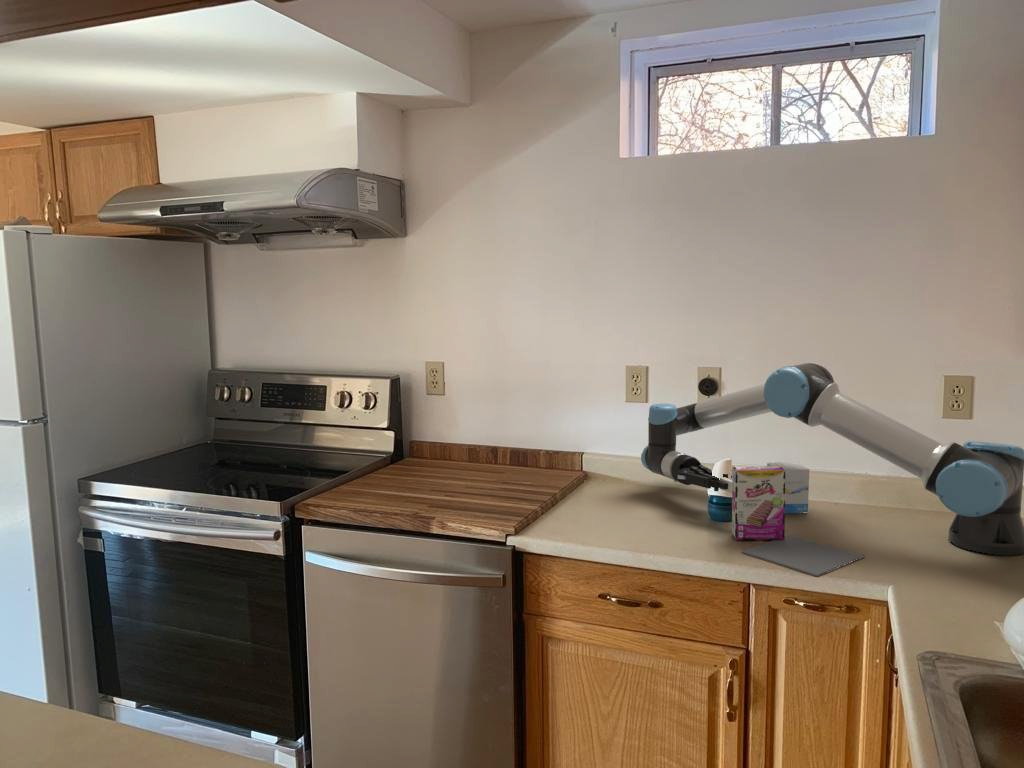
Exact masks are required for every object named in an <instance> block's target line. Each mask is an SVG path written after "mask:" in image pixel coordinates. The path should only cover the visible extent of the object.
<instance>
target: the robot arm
mask: <svg viewBox="0 0 1024 768" xmlns="http://www.w3.org/2000/svg"><path fill="white" fill-rule="evenodd" d="M648 409H649V411H648V419H647V421H648V426H647V427H648V428H647V429H648V430H647V431H648V432H647V433H648V436H647V437H648V444H647V445H646V446H645V447H644V449H643V451H642V453H641V455H640V461H641V463H642V465H643V467H644V468H645V469H646V470H649V471H650V472H652V473H653V474H657V475H660V476H663V477H665V478H668V479H670V480H673V482H674V483H677V482H678V483H680V484H683V485H686V486H691V485H693V486H697V487H701V488H705V489H711V488H712V489H713V491H714V492H719V489H720V490H722V491H725V492H728V493H730V494H732V480H731V479H728V474H729V473H728V474H723V478H720V480H719V478H717V477H715V476H712V470H713V469H711V468H709V467H706V466H705V465H703V464H701V462H700V460H699V459H697V458H696V457H694V456H691V455H688V454H686V453H683V452H680V451H677V450H676V449H677V436H680V435H684V434H689V433H693V432H698V431H701V430H704V429H707V428H712V427H716V426H719V425H724V424H728V423H732V422H736V421H739V420H743V419H747V418H753V417H755V416H759V415H763V414H767V413H768V414H769V413H771V412H772V413H773V414H775V415H776V416H778V417H781V418H786V419H789V418H794V419H795V420H798V421H799V422H801V423H803V424H805V425H807V426H808V427H811V428H815V427H817V426H823V427H824V428H826V429H828V430H830V431H831V432H833V433H835V434H837V435H839V436H842V437H843V438H844V439H847V440H848V441H850V442H852V443H854V444H856V445H858V446H860V447H861V448H864V449H865V450H868V451H869V452H871V453H872V454H874V455H876V456H878V457H880V458H881V459H884V460H885V461H887V462H889V463H892V464H893V465H895V466H897V467H899V468H900V469H902V470H904V471H906V472H908V473H910V474H912V475H913V476H915V477H918V478H920V480H921V483H922V485H923V488H924V489H925V490H926V491H928V492H929V493H932V494H933V495H936V496H937V497H938V499H939V500H940V502H941V503H942V505H944V507H945V508H946V509H948V510H949V511H951V512H953V513H955V515H954V517H953V520H952V522H951V524H950V526H949V528H948V533H947V534H948V535H947V537H948V538H947V540H948V539H949V540H948V542H949V541H950V542H949V543H951V542H952V543H953V544H952V543H951V544H952V545H954V544H955V545H954V546H956V545H957V546H956V547H958V546H959V547H958V548H960V547H961V548H960V549H963V548H964V550H966V549H969V550H968V551H970V550H973V551H972V552H974V551H977V552H976V553H979V552H982V553H981V554H984V553H988V554H987V555H991V554H994V555H993V556H1020V555H1023V554H1024V523H1023V518H1022V513H1021V512H1022V498H1023V487H1024V485H1023V484H1024V449H1023V448H1022V447H1021V446H1017V445H1014V444H1013V445H1012V444H1004V443H998V442H986V441H978V440H977V441H975V440H973V441H972V440H968V441H965V442H964V443H963V445H961V444H959V443H957V442H955V441H952V442H947V443H941V442H939V441H937V440H936V439H935V440H934V439H933V438H931V437H929V436H927V435H926V434H923V433H921V432H919V431H917V430H915V429H914V428H911V427H909V426H907V425H905V424H904V423H901V422H899V421H898V420H895V419H893V418H892V417H889V416H887V415H885V414H883V413H881V412H879V411H878V410H875V409H873V408H872V407H869V406H867V405H865V404H863V403H861V402H859V401H857V400H855V399H853V398H851V397H849V396H847V395H845V394H843V393H841V392H840V387H839V385H838V383H836V382H835V380H834V377H833V375H832V373H831V372H830V370H828V369H827V368H825V367H824V366H822V365H820V364H818V363H817V364H816V363H812V362H811V363H809V362H807V363H802V364H796V365H791V366H790V365H788V366H787V365H786V366H782V367H781V368H779V369H776V370H775V371H773V372H771V374H770V375H769V376H768V377H767V379H766V380H765V383H763V384H759V385H756V386H752V387H749V388H745V389H741V390H738V391H735V392H732V393H727V394H723V395H720V396H717V397H713V398H710V399H706V400H703V401H699V402H696V403H691V404H688V405H685V406H680V407H677V406H676V405H675V404H672V403H653V404H651V405H650V406H649V408H648ZM731 478H732V475H731Z"/></svg>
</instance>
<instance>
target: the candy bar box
mask: <svg viewBox="0 0 1024 768" xmlns="http://www.w3.org/2000/svg"><path fill="white" fill-rule="evenodd" d="M731 467H732V471H731V473H732V474H731V476H732V493H731V498H732V499H731V534H732V536H733V537H734V540H736V541H738V540H739V541H740V540H741V541H743V540H744V541H747V540H748V541H750V540H751V541H754V540H757V541H759V540H760V541H762V540H763V541H764V540H768V541H769V540H770V541H773V540H784V539H785V536H786V534H785V533H786V532H785V531H786V530H785V528H786V527H785V526H786V524H785V523H786V520H785V519H786V515H785V514H786V513H785V470H784V469H783V468H782V467H781V466H767V465H732V466H731Z"/></svg>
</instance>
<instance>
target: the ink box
mask: <svg viewBox="0 0 1024 768" xmlns="http://www.w3.org/2000/svg"><path fill="white" fill-rule="evenodd" d="M766 466H781V467H782V468H783V469H784V470H785V514H804V513H803V512H808V513H809V494H810V493H809V491H810V490H809V488H810V469H809V468H807V467H806V466H804V465H803V464H801V463H799V462H794V461H793V462H788V461H787V462H786V461H785V462H780V461H775V462H766ZM800 512H801V513H800Z"/></svg>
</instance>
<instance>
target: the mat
mask: <svg viewBox="0 0 1024 768" xmlns="http://www.w3.org/2000/svg"><path fill="white" fill-rule="evenodd" d="M848 551H849V550H845V549H842V548H838V547H835V546H831V545H827V544H824V543H820V542H817V541H813V540H809V539H806V538H802V537H799V536H797V535H791V534H788V535H785V539H784V540H770V541H767V542H765V543H761V544H758V545H755V546H753V547H750V548H747V549H744V550H741V554H743V555H747V556H751V557H753V558H756V559H760V560H763V561H765V562H770V563H771V564H776V565H779V566H782V567H785V568H787V567H788V569H791V568H792V569H791V570H794V569H795V570H794V571H797V570H798V572H800V571H801V572H800V573H803V572H804V573H803V574H806V573H807V574H806V575H810V576H813V577H815V578H818V577H820V576H823V575H825V574H824V573H826V572H828V571H830V572H832V571H831V570H833V569H835V568H837V567H839V566H842V565H844V564H847V563H849V562H851V561H854V560H856V559H859V558H861V557H863V556H865V555H863V554H861V553H860V554H859V553H856V552H852V551H849V552H848ZM835 570H836V569H835ZM833 571H834V570H833ZM828 573H829V572H828ZM822 574H823V575H822ZM826 574H827V573H826Z"/></svg>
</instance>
